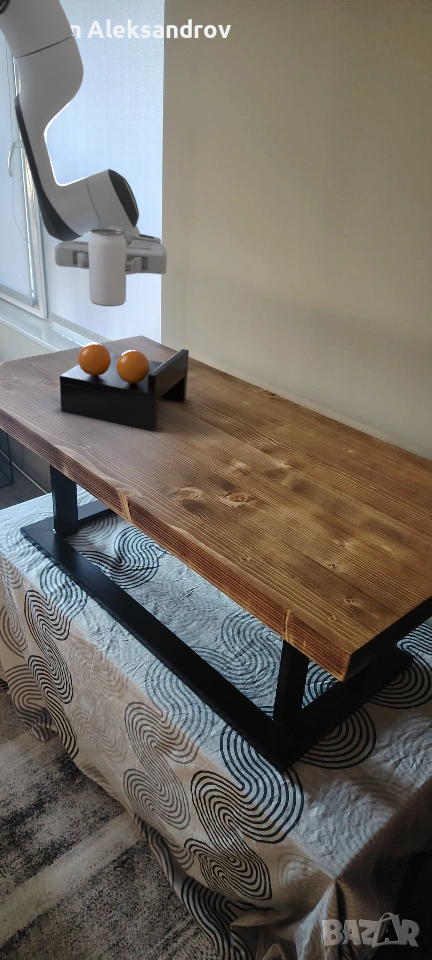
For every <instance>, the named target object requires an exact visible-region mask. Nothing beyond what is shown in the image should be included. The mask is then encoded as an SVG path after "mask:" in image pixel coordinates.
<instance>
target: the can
mask: <svg viewBox="0 0 432 960" xmlns="http://www.w3.org/2000/svg"><path fill="white" fill-rule="evenodd" d="M123 234H124V232H123V231H120V230H114V229H93V230H91V232H90V235H89V237H88V241H87V242H88V249H89V269H88V287H89V288H88V293H89V301H90V302H91V303H92V304H94V305H96V306H100V307H119V306H122V305H124V304H125V303H126V302H127V275H126V272H125V268H126V266H125V262H126V240H125V238H124V235H123Z"/></svg>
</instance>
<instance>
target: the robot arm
mask: <svg viewBox="0 0 432 960" xmlns="http://www.w3.org/2000/svg"><path fill="white" fill-rule="evenodd" d="M0 31H1V33H2V34H3V36H4V38H5V40H6V43H7V45H8V47H9V50H10V52H11V55H12V58H13V60H14V62H15V64H16V68H17V73H18V77H19V91H18V94H17V95H16V96H15V97H14V99H13V100H14V101H13V103H14V114H15V119H16V123H17V128H18V131H19V135H20V139H21V143H22V147H23V150H24V155H25V158H26V161H27V165H28V168H29V172H30V175H31V179H32V183H33V186H34V190H35V194H36V198H37V203H38V208H39V215H40V218H41V221H42V225H43V227H44V228H45V230H46V232H47V234H48V235H49V236H51V237H52V238H53V239H56V240H59V241H61V242H59V243H57V244H55V245H54V263H55V265H57V266H58V267H61V268H62V267H64V268H75V269H76V268H77V269H81V270H82V269H83V270H89V249H88V241H83V240H77V239H79V238H82V237H83V236H84V235H87V234H91V230H93V229H114V230H120V231H123V232H124V234H123V235H124V238H125V240H126V262H125V266H126V268H125V272H126V276H130V275H134V274H151V275H154V274H155V275H165V274H166V273H167V265H168V264H167V262H168V260H167V259H168V252H167V249H166V247H165V246H164V245H163V244H162V239H161V238H160V237H157V236H152V235H147V234H143V233H141V232H140V229H139V228H138V226H137V224H138V221H139V218H140V212H139V207H138V203H137V199H136V197H135V194H134V192H133V189H132V187H131V185H130V183H129V182H128V180H127V179H126V178H125V177H124V176H123V175H122V174H120V173H119V172H117V171H115V170H114V169H111V168H107V169H103V170H102V171H98V172H95V173H93V174H90V175H87V176H86V177H83V178H80V179H77V180H74V181H72V182H68V183H65V184H59V183H58V181H57V179H56V174H55V171H54V167H53V164H52V160H51V155H50V152H49V149H48V148H49V147H48V144H47V130H48V128H49V126H50V125H51V124H52V122H53V120H54V119H56V118H57V116H58V115H59V114H60V113H61V112H62V111H64V109H65V108H66V107H68V105H69V104H70V103H71V102H72V101H73V100H74V98H75V97H76V95H77V94H78V93H79V91H80V89H81V87H82V84H83V79H84V69H85V68H84V64H83V60H82V56H81V52H80V49H79V47H78V43H77V40H76V37H75V35H74V31H73V29H72V27H71V24H70V22H69V19H68V17H67V14H66V13H65V10H64V8H63V6H62V4H61V1H60V0H0Z"/></svg>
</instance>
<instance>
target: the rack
mask: <svg viewBox="0 0 432 960" xmlns="http://www.w3.org/2000/svg"><path fill="white" fill-rule="evenodd" d="M189 354H190V351H189V349H185V348H182V349H180V350H179V351H178V352H176V353H175V354H173V355H172V356H171V357H170V358H168V359H167V360H166V361H164V362H161V361H157V360H151V359H148V358H147V356H145V355H146V354H144V353H143V352H141V351H139V350H135V349H134V350H131V349H130V350H126V351H125V352H123V353H122V354H119V353H114V352H109V350H108V349H107V347H105V346H104V345H103V344H101V343H97V342H91V343H87V344H86V345H84V346H83V347H82V348H81V349H80V351H79V352H78V355H77V356H78V357H77V362H78V364H76V365H75V366H74V367H72V368H70V369H69V370H67V371H65V372H63V373H62V374H60V375H59V391H60V392H59V393H60V395H59V396H60V411H61V412H64V413H68V414H72V415H78V416H81V417H85V418H90V419H95V420H100V421H104V422H108V423H114V424H117V425H123V426H128V427H132V428H135V429H140V430H146V431H150V432H155V431H156V430H157V427H158V400H159V399H162V400H167V401H173V402H178V403H181V404H182V403H185V402H186V401H187V388H188V387H187V385H188V370H189V356H190V355H189Z"/></svg>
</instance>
